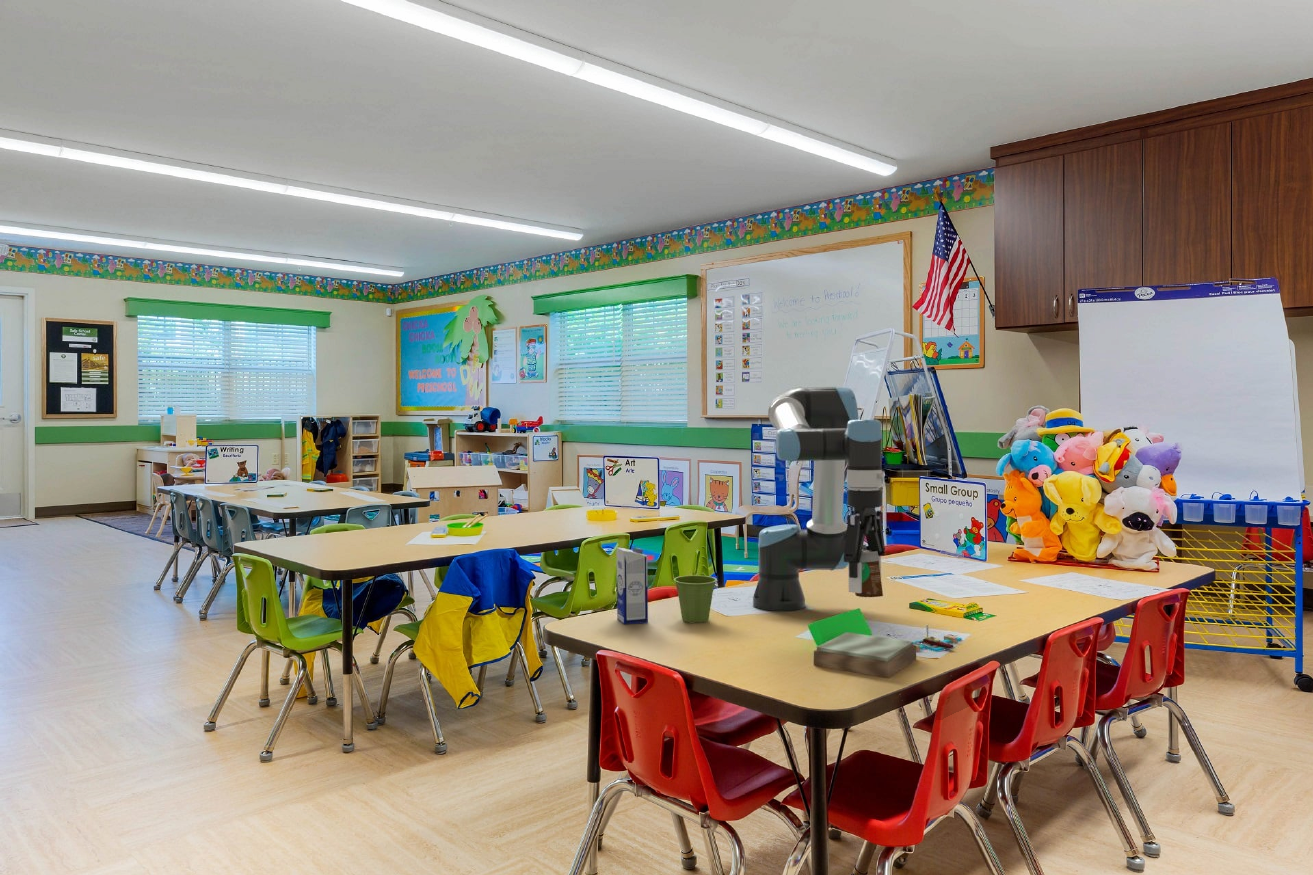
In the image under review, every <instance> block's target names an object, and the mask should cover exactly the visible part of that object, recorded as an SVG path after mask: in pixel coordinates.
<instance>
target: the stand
mask: <svg viewBox="0 0 1313 875" xmlns="http://www.w3.org/2000/svg"><path fill="white" fill-rule="evenodd" d="M916 660H917V652H916V645H913V641H910V640H902V639H897V638H889V637H883V636H882V637H881V636H874V635H871V636H869V635H862V634H855V633H848V632H846V633H844V634H842V635H840V636H838V637H836V638H834V639H832V640H830V641H828V642H826V643H824V644H822V645H820V646H816V649H815V650H813V665H814V666H816V667H823V668H829V669H834V670H840V671H845V672H851V673H857V674H863V675H869V676H875V677H881V678H884V679H885V678H887V679H889V678H890V677H892V676H893V675H895V674H896V673H898V672H899V671H901V670H903V669H904V668H906V667H907V666H908V665H911V664H912V663H913V662H915V661H916Z"/></svg>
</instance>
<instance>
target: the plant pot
mask: <svg viewBox="0 0 1313 875" xmlns="http://www.w3.org/2000/svg"><path fill="white" fill-rule="evenodd" d="M673 581H674V583H675V587H676V590H677V595H678V600H679V601H678V602H679V608H680V614H681V619H682V621H684V622H686V623H691V624H693V623H694V624H695V623H697V622H698V623H701V624H702V623H705V622H707V621H709V618H710V613H711V607H712V599H713V593H714V590H715V585H716V582H717V581H718V579H717V578H716V577H713V576H708V575H701V574H700V575H699V574H697V575H695V574H692V575H691V574H690V575H683V576H682V575H681V576H677V577H674V578H673Z"/></svg>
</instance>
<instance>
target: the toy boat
mask: <svg viewBox="0 0 1313 875" xmlns="http://www.w3.org/2000/svg"><path fill="white" fill-rule="evenodd" d="M961 641H963V638H962V637H958V636H952V635H948V634H947V635H944V636H943V639H942V640H941V639H938V638H936V637H934V636H929V624H926V636H924V638H922V639H918V640H912V642H913V645H916V653H917V652H920V651H921V650H924V649H925V650H928V649H929V651H932V650H933V651H932V652H941V651H945V650H944V649H946V650H950V649H953V648H955V645H954V644H953V643H955V644H958V642H961ZM921 643H923V644H921ZM932 645H934V646H932ZM940 650H941V651H940Z"/></svg>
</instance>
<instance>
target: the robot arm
mask: <svg viewBox="0 0 1313 875" xmlns="http://www.w3.org/2000/svg"><path fill="white" fill-rule="evenodd" d="M767 411H768V414H767V415H768V419H769V422H770V424H771V425H772V426H773V429H775V430H776V431H777V432H776V436H775V451H776V457H777V459H778V460H780V461H785V462H786V461H789V462H807V461H808V462H809V461H810V462H811V461H813V478H812V479H813V480H812V481H813V486H812V487H813V488H812V511H811V512H812V513H811V514H812V516H811V517H812V518H811V519H809V520H808V521H807V523H806V529H800V527H799V525H797V524H793V523H792V524H780V525H773V526H768V527H765V528H763V529H761V530H760V532H759V534H758V545H757V547H758V580H757V585H756V587H755V589H754V593H753V595H752V596H753V597H752V605H753V607H755V608H757V609H760V610H764V611H765V610H767V611H777V612H778V611H779V612H780V611H781V612H783V611H784V612H785V611H796V610H801V609H803V608H805V607H806V598H805V594H804V592H803V589H802V585H801V582H800V570H801V571H802V570H803V571H806V570H807V571H809V570H810V571H813V570H814V571H834V570H836V571H837V570H844V569H846V568H847V567H848V593H854V594H855V593H862V563H859V562H860V557H861V552H862V548H863V545H864V543H865V539H866V542H867V547H868V550H872V552H874V551H878V556H879V567H880V575H881V576H882V557H884V556H886V545H885V537H884V530H883V523H882V522H883V521H882V510H880V509H879V510H877V509H876V508H880V507H882V506H883V491H882V490H881V489H880V488H882V486H883V481H882V480H883V479H884V477H885V476H884V474H883V471H882V468H883V460H882V459H883V454H882V453H883V452H882V451H883V446H882V445H883V441H882V440H883V436H884V435H883V432H882V422H881V421H880V420H879V419H859V410H858V403H857V399H856V395H855V393H854V391H853V390H852V389H851V388H849V387H841V386H840V387H838V386H823V387H822V386H820V387H819V386H818V387H794V388H791V389H787V390H785V391H783V392H781V393H780V394H778V395H776V397H775V398H774V399H773V400H772V401H771V403H770V405H769V408H768V410H767ZM846 461H847V465H846V464H845V463H846ZM845 466H847V468H845ZM845 469H846V486H847V488H849V489H848V490H847V492H846V493H847V494H846V495H847V498H846V499H847V503H846V505H847V506H849V507H851V508H854V510H853V514H847V517H846V520H847V521H846V522H847V523H846V522H845V521H844V520H843V516H844V514H843V513H844V512H843V511H844V493H845V492H844V491H845V490H844V489H845Z"/></svg>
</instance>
